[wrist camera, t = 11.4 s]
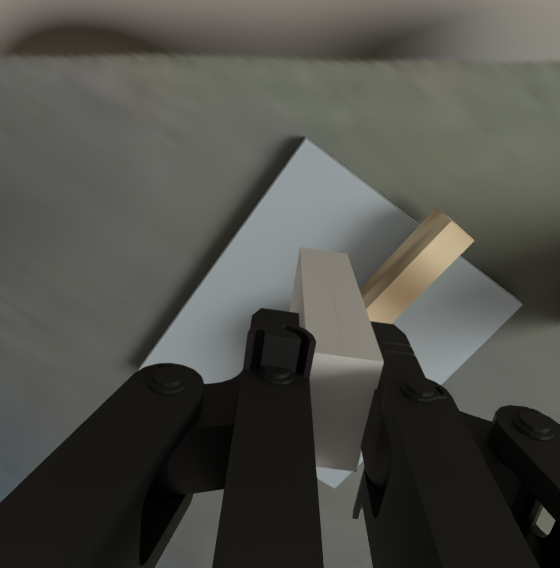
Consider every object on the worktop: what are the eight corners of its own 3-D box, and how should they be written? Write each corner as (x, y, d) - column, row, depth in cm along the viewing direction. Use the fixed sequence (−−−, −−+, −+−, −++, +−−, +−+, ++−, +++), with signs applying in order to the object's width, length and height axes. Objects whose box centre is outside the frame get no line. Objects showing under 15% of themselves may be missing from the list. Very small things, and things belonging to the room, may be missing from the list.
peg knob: (290, 430, 37) (290, 479, 33) (225, 387, 36) (216, 432, 31) (479, 243, 31) (510, 271, 27) (409, 183, 30) (429, 202, 25)
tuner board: (333, 477, 41) (334, 490, 39) (141, 363, 37) (136, 374, 36) (515, 297, 34) (524, 306, 33) (305, 136, 30) (305, 139, 29)
